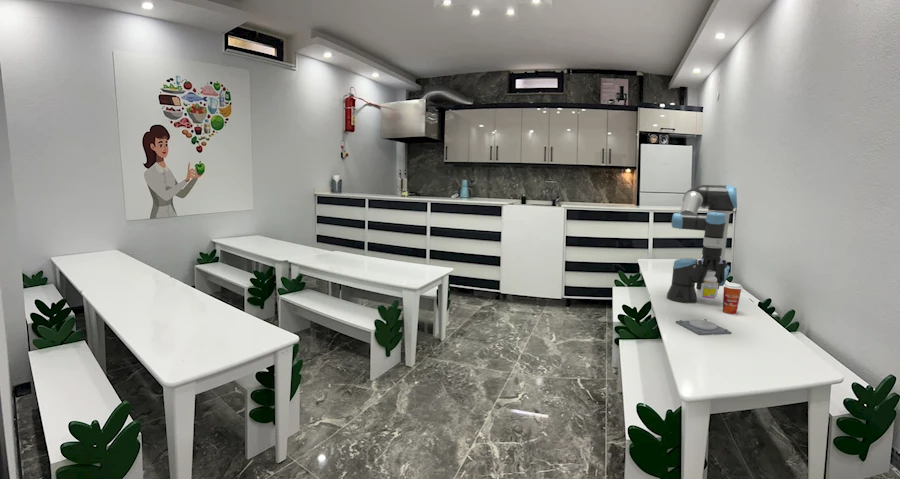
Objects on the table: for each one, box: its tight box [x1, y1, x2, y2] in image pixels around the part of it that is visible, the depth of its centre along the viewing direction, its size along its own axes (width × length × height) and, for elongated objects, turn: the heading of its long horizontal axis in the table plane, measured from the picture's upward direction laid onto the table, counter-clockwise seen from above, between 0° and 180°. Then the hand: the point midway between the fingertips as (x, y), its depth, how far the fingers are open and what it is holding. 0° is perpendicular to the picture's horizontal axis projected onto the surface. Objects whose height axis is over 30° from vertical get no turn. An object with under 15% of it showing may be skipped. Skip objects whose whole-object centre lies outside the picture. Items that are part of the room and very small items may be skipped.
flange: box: [675, 318, 732, 336], centre depth 203 cm, size 16×16×2 cm
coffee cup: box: [722, 282, 743, 315], centre depth 226 cm, size 8×8×15 cm
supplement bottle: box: [698, 270, 717, 301], centre depth 200 cm, size 7×7×13 cm
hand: (706, 296), depth 201 cm, fingers closed on supplement bottle, 7 cm apart
